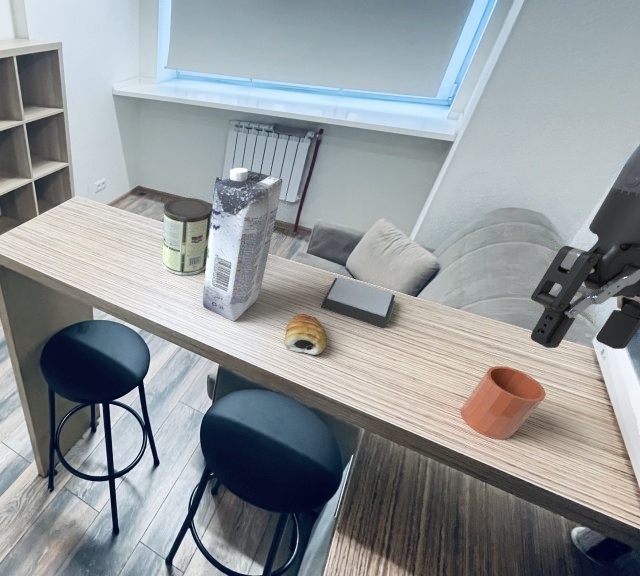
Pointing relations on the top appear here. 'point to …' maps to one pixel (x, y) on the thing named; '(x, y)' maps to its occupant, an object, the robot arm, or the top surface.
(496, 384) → the terracotta flower pot
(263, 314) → the top surface
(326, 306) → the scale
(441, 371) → the top surface
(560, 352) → the top surface
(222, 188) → the juice carton
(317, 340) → the pastry
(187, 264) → the coffee can
